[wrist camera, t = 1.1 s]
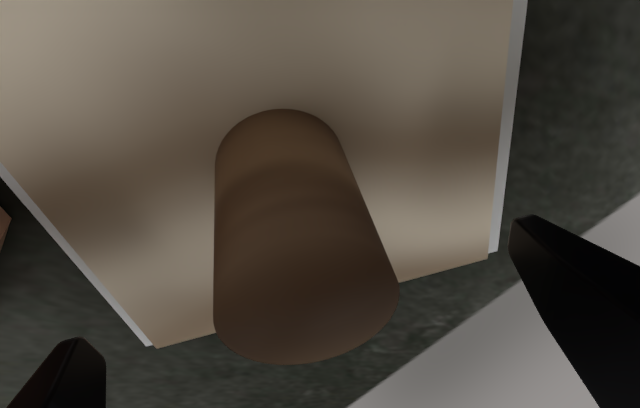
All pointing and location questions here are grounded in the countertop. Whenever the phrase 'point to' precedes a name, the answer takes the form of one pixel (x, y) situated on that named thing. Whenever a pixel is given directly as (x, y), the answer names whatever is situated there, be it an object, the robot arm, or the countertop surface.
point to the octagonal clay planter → (3, 225)
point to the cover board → (216, 65)
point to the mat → (499, 190)
